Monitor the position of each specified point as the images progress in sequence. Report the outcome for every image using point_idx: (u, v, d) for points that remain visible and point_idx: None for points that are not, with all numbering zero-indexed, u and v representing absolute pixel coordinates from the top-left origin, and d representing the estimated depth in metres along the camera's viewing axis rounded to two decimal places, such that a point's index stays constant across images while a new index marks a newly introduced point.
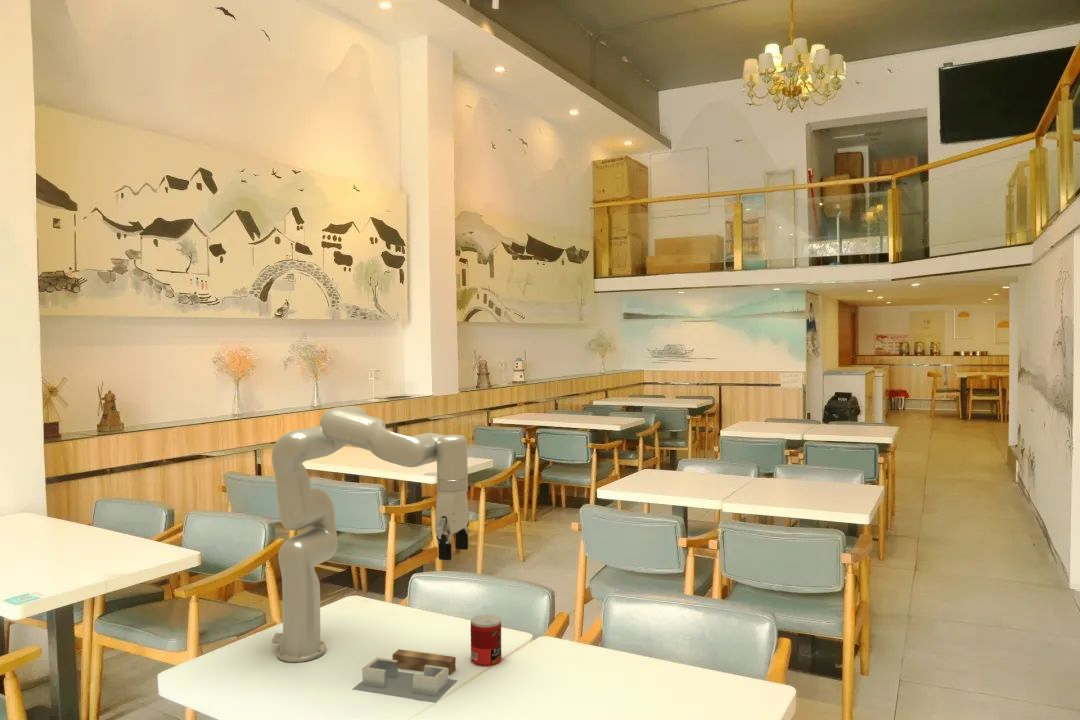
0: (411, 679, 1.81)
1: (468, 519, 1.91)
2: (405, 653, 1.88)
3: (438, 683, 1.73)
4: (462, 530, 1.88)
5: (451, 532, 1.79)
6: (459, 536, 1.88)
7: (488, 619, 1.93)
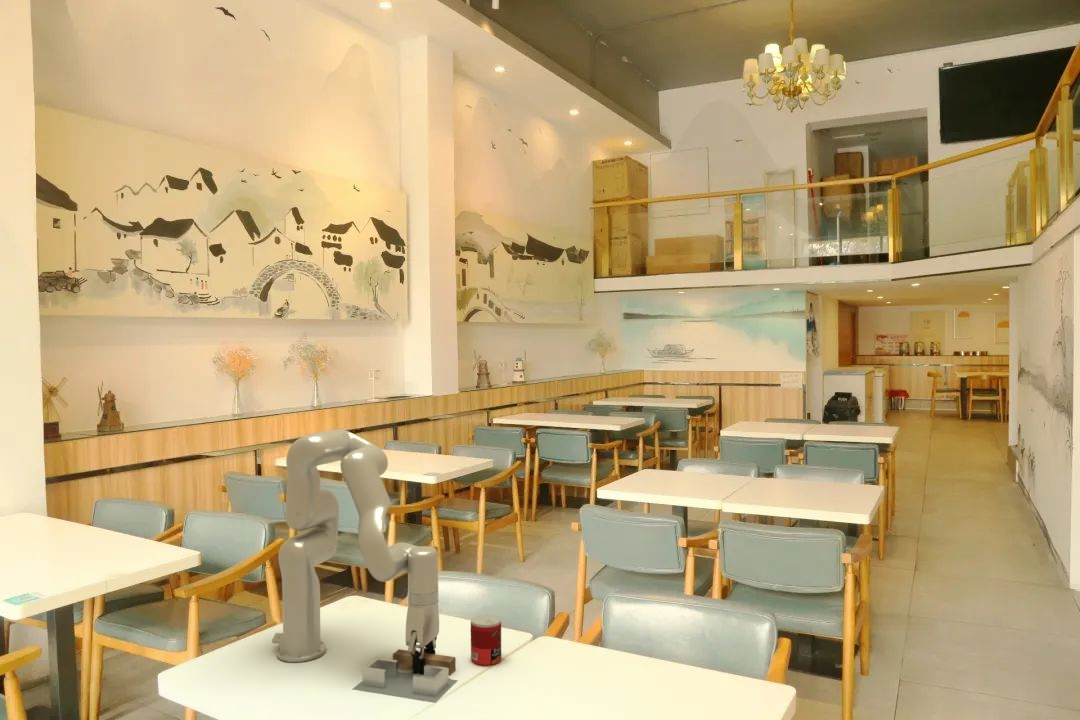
0: (411, 679, 1.81)
1: None
2: (405, 653, 1.88)
3: (438, 683, 1.73)
4: (429, 646, 1.89)
5: (421, 646, 1.82)
6: (426, 652, 1.89)
7: (488, 619, 1.93)
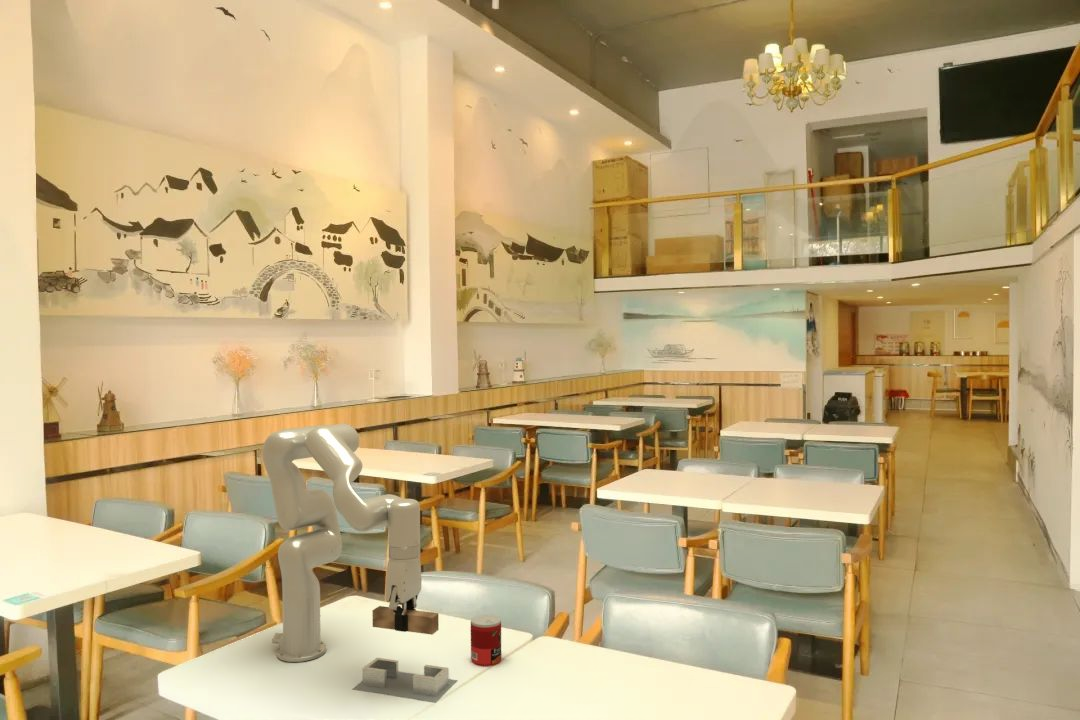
0: (411, 679, 1.81)
1: (417, 594, 1.83)
2: (386, 609, 1.79)
3: (438, 683, 1.73)
4: (409, 605, 1.80)
5: (401, 602, 1.73)
6: None
7: (488, 619, 1.93)
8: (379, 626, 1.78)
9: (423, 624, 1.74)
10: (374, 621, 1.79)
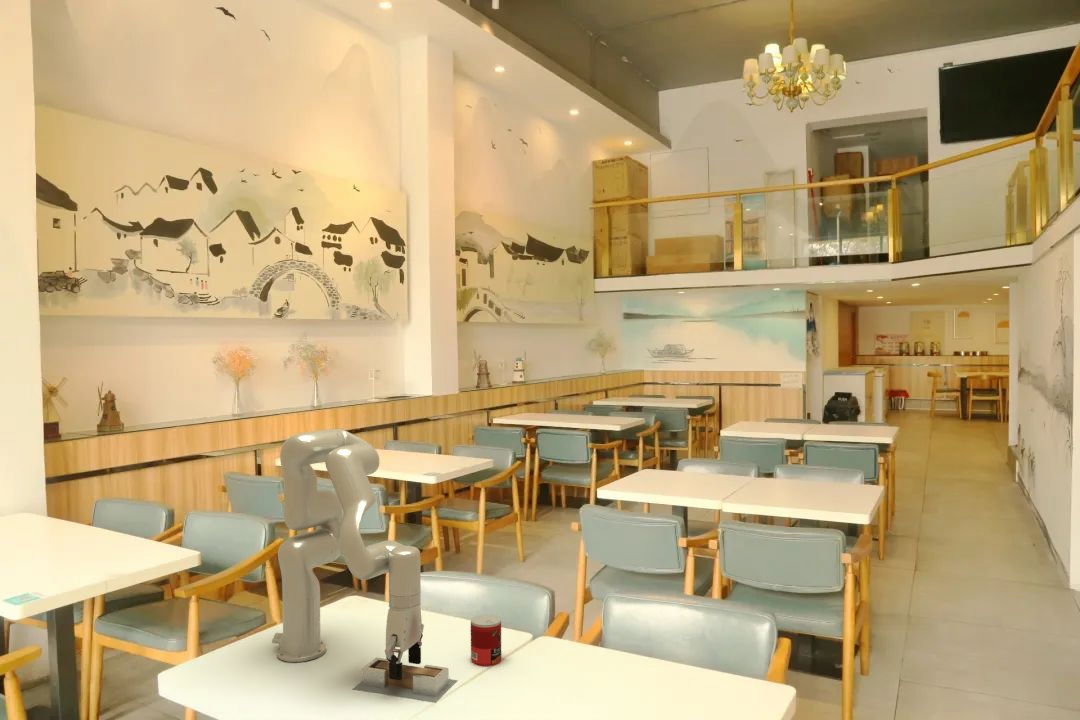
0: None
1: (422, 631, 1.85)
2: (388, 666, 1.79)
3: (438, 683, 1.73)
4: (415, 644, 1.82)
5: (401, 651, 1.73)
6: (412, 650, 1.82)
7: (488, 619, 1.93)
8: None
9: None
10: None
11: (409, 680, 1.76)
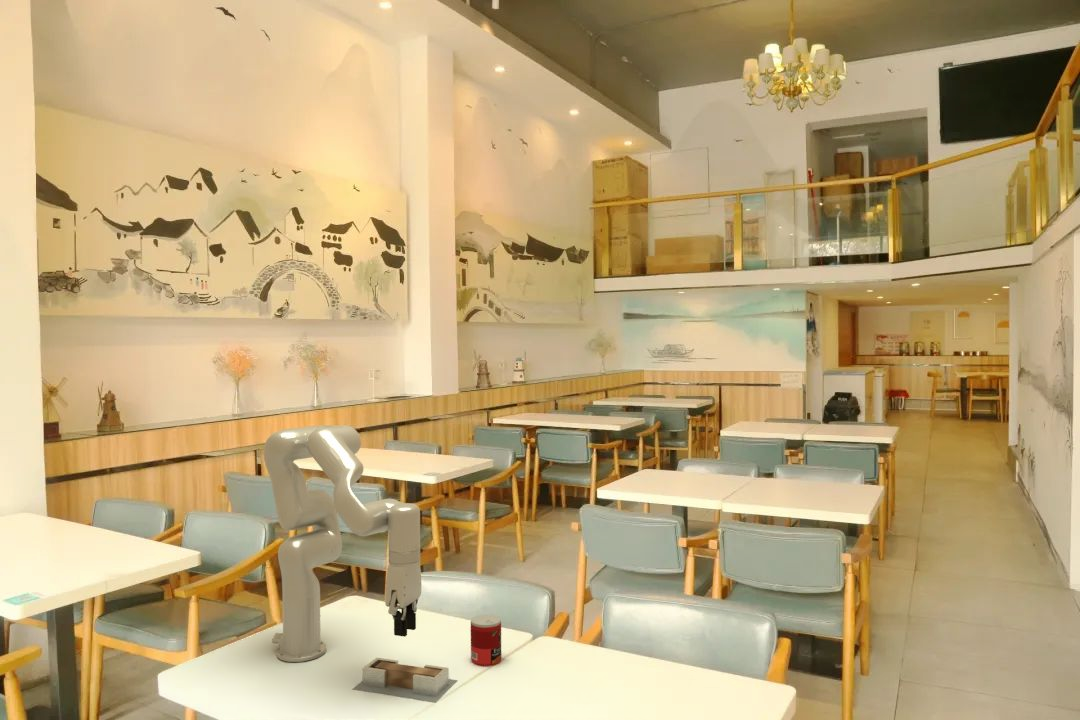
0: None
1: (417, 598, 1.83)
2: (388, 666, 1.79)
3: (438, 683, 1.73)
4: (410, 609, 1.80)
5: (401, 606, 1.73)
6: (406, 615, 1.80)
7: (488, 619, 1.93)
8: None
9: None
10: None
11: (409, 680, 1.76)
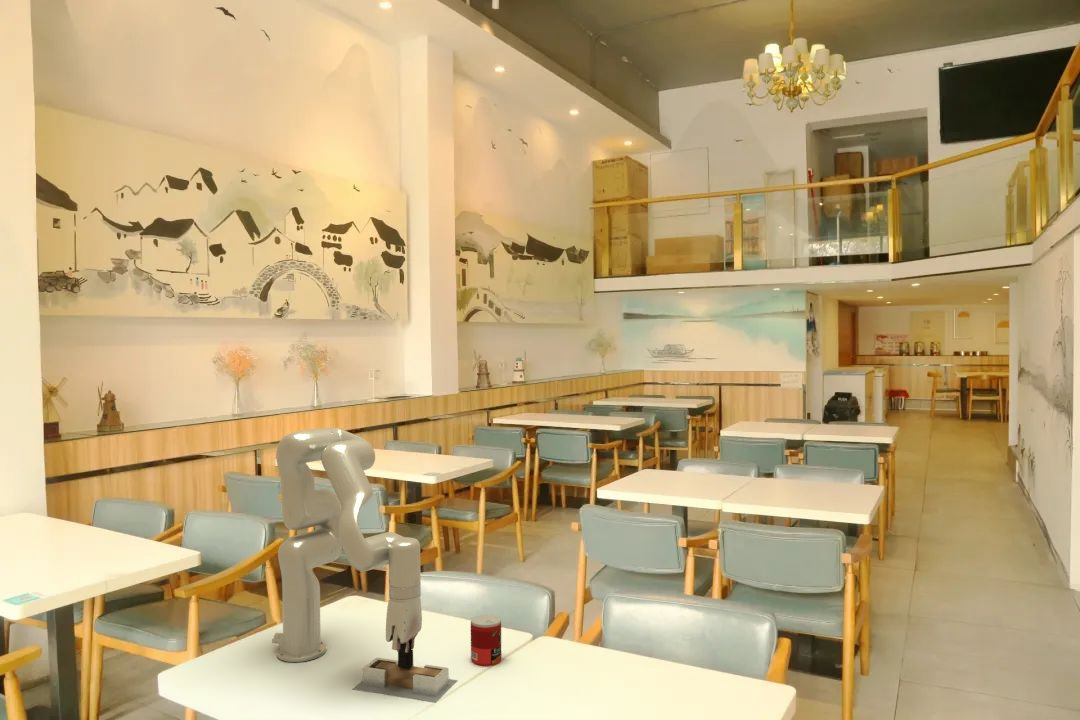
0: None
1: (415, 636, 1.81)
2: (388, 666, 1.79)
3: (438, 683, 1.73)
4: None
5: (402, 642, 1.73)
6: None
7: (488, 619, 1.93)
8: None
9: None
10: None
11: (409, 680, 1.76)
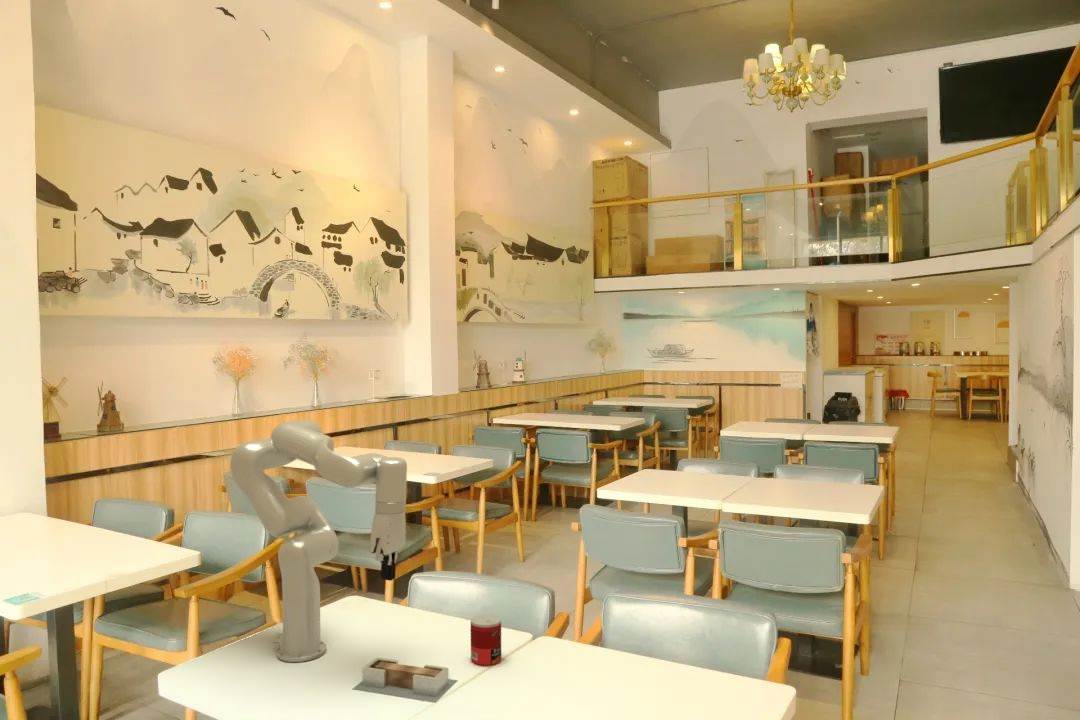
0: None
1: (398, 551, 1.91)
2: (388, 666, 1.79)
3: (438, 683, 1.73)
4: None
5: (384, 554, 1.82)
6: None
7: (488, 619, 1.93)
8: None
9: None
10: None
11: (409, 680, 1.76)
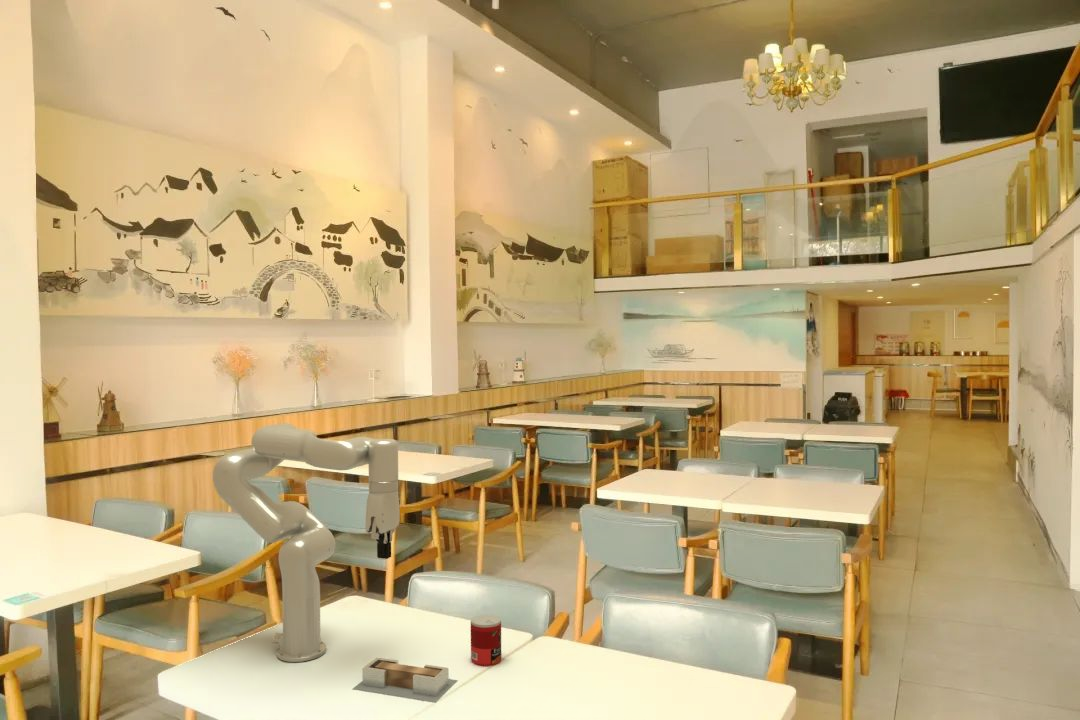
0: None
1: (393, 531, 1.95)
2: (388, 666, 1.79)
3: (438, 683, 1.73)
4: None
5: (380, 532, 1.87)
6: None
7: (488, 619, 1.93)
8: None
9: None
10: None
11: (409, 680, 1.76)
